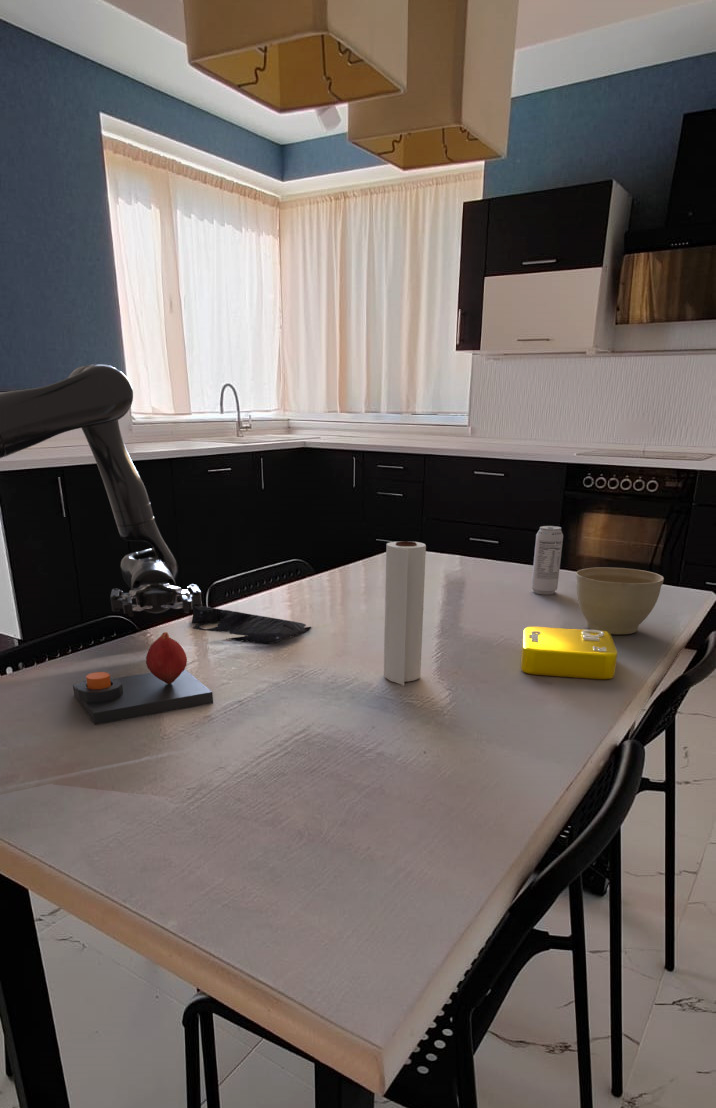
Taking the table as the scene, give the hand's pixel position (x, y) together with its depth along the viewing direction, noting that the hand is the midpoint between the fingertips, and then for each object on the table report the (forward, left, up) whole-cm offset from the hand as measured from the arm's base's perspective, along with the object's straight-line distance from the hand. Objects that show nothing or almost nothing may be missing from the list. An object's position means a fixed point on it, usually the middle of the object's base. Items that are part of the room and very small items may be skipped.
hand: (158, 608), depth 120 cm
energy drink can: (+97, +15, -11) cm, 98 cm away
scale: (-6, -10, -11) cm, 16 cm away
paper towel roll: (+33, -20, -11) cm, 40 cm away
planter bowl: (+86, -16, -11) cm, 88 cm away
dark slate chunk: (+22, +16, -11) cm, 29 cm away
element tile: (+61, -27, -11) cm, 68 cm away
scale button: (-12, -10, -8) cm, 17 cm away
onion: (-2, -10, -9) cm, 14 cm away
